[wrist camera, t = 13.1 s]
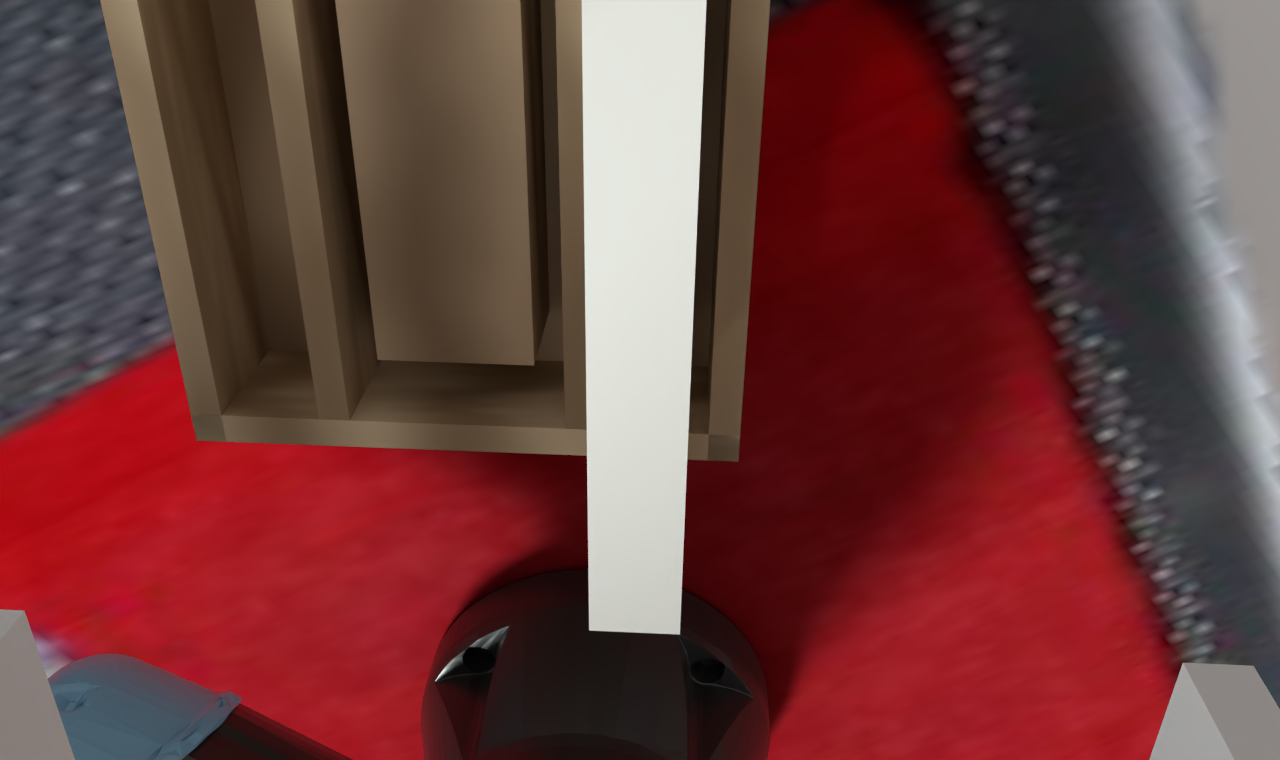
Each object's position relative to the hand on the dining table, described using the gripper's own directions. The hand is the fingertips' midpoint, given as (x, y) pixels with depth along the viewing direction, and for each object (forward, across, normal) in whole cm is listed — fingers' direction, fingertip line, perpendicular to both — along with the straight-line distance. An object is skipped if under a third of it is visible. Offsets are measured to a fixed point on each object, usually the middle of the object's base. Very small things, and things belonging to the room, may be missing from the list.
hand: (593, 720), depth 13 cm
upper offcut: (+23, +6, 0) cm, 24 cm away
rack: (+27, +6, 0) cm, 27 cm away
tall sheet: (+25, 0, 0) cm, 25 cm away
